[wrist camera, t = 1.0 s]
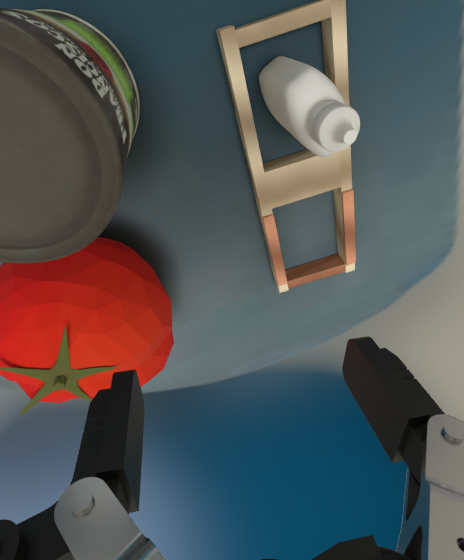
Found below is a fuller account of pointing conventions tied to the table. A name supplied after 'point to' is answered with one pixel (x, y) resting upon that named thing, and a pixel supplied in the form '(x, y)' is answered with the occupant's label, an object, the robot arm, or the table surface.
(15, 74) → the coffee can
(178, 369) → the table surface
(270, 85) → the eye dropper bottle
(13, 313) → the tomato
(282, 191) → the rail
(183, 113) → the table surface
